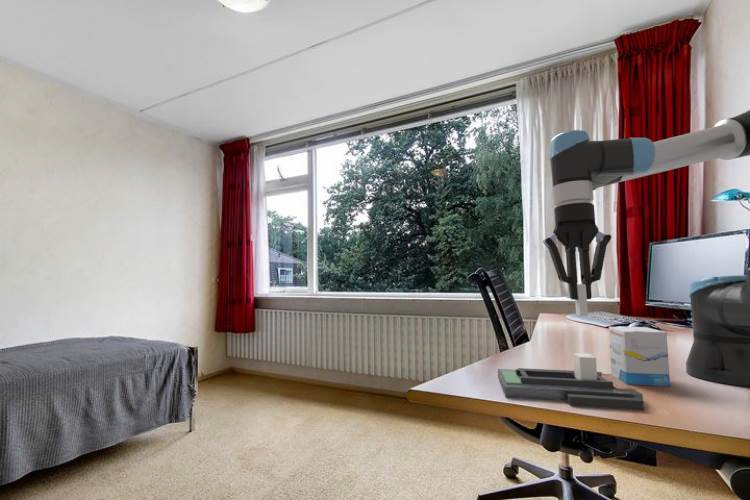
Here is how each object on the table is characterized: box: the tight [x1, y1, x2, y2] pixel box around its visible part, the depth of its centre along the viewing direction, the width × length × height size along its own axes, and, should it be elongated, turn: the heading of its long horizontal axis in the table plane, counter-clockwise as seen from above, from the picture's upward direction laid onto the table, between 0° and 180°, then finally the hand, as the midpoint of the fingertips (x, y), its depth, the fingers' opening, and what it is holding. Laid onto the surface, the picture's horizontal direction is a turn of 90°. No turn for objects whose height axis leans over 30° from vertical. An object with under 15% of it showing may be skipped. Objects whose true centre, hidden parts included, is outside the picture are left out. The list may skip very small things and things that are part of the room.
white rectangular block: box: [573, 352, 598, 380], centre depth 75 cm, size 3×4×5 cm
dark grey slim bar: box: [517, 367, 604, 374], centre depth 85 cm, size 18×2×2 cm, turn 77°
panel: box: [497, 368, 644, 402], centre depth 76 cm, size 24×14×3 cm, turn 77°
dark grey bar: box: [567, 394, 645, 411], centre depth 66 cm, size 12×2×2 cm, turn 77°
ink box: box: [608, 325, 671, 387], centre depth 83 cm, size 8×8×12 cm
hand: (582, 315), depth 76 cm, fingers closed
